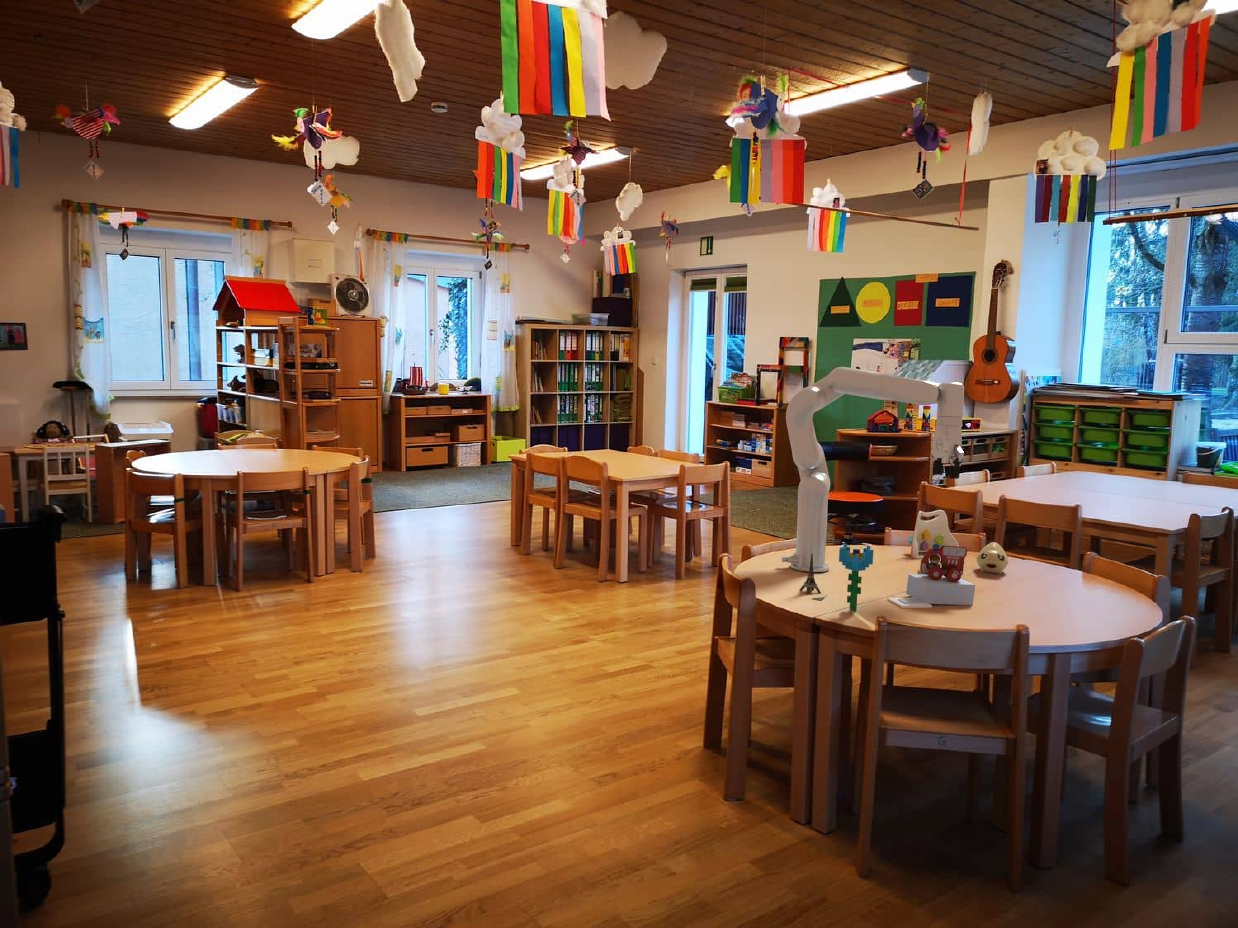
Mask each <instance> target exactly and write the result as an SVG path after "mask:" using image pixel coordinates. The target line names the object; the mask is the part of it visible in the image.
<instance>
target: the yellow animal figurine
mask: <svg viewBox="0 0 1238 928" xmlns="http://www.w3.org/2000/svg"><path fill="white" fill-rule="evenodd" d="M976 563H977V565H978V567H979V568H980V571H981V572H986V573H989V572H992V573H991V574H999V573H1001V574H1002V572H1003V571H1004V570H1005V569H1006V568H1007V567H1008V565H1009V559H1008V555H1007V554H1006V551H1005V550H1004V548H1003V547H1002V546H1001V544H999V543H998V542H996V541H995V542H993V541H991V542H990V543H988V544H987V545H984V547H983V548H982V549H981V550H980V551H979V553H978V554H977V556H976Z"/></svg>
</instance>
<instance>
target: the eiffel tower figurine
mask: <svg viewBox="0 0 1238 928" xmlns="http://www.w3.org/2000/svg"><path fill="white" fill-rule="evenodd" d="M805 588H806V591H805V595H807V596H808V595H811V594H810V593H811V591H817V594H818V595H822V594H823V593H822V592H821V590H820V588H819V587H818V584H817V583H816V580H815V575H814V572H813V554H811V561H810V569H809V572H808V574H807V577H806V580H805V581H804V582H803V585H802V586H801V587H800V588H799V591H800V592H801V591H803V590H804V589H805ZM825 596H826V597H827V596H828V595H827V594H826V595H825ZM826 597H824V596H822V597H820V596H819V597H812V598H811V600H815V601H816V600H817V601H823V599H825V598H826Z"/></svg>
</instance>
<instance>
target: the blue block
mask: <svg viewBox="0 0 1238 928" xmlns="http://www.w3.org/2000/svg"><path fill="white" fill-rule="evenodd" d="M975 591H976V584H974V583H972V582H970V581H967V580H965V579H962V578H961V579H960V580H959V581H957V582H951V581H949V580H948V579H947V578H946V577H945V576H942V578H941V579H940V580H932V579H931V578H930V577H929V576H928V575H917V573H916V574H912V573H908V577H907V583H906V592H905V593H906V595H908V596H910V598H912V597H913V598H915V599H917V600H919V601H921V602H923V603H925V604H930V605H954V606H955V605H956V606H957V605H958V606H961V605H962V606H973V605H974V598H975Z"/></svg>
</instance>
